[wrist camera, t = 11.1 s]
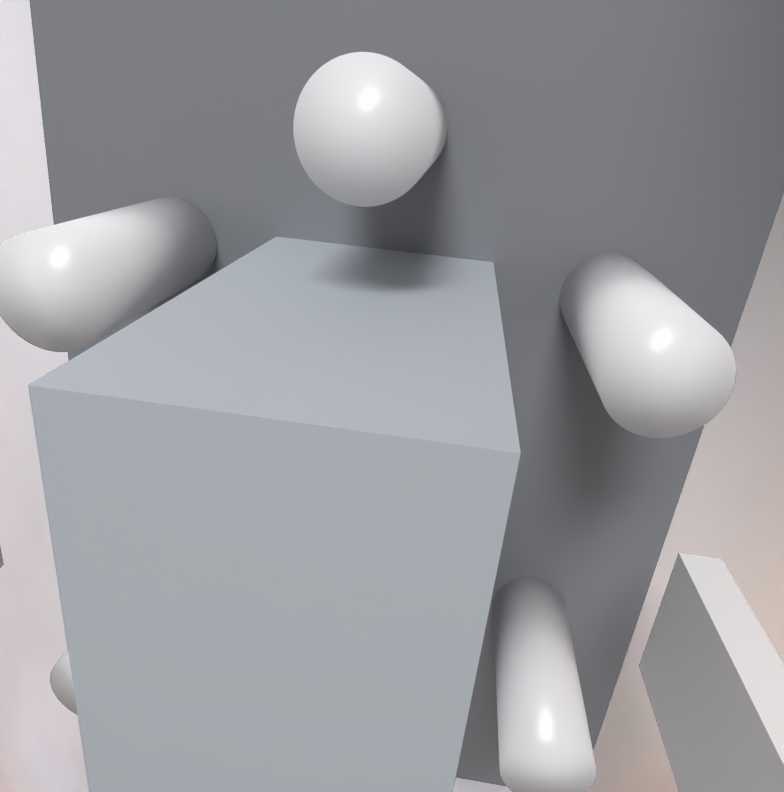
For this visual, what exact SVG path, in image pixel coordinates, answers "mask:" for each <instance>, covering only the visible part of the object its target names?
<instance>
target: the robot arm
mask: <svg viewBox="0 0 784 792" xmlns="http://www.w3.org/2000/svg"><path fill="white" fill-rule="evenodd" d="M3 565H4V564H3V558H2V553H1V547H0V568H1V567H2V566H3ZM639 668H640V671H641V674H642V677H643V680H644V683H645V686H646V690H647V693H648V696H649V699H650V702H651V705H652V708H653V712H654V715H655V718H656V721H657V724H658V727H659V730H660V733H661V737H662V740H663V743H664V746H665V749H666V752H667V755H668V759H669V762H670V765H671V768H672V771H673V774H674V777H675V781H676V784H677V787H678V790H679V792H784V664H783V662H782V661H781V659H780V657H779V656H778V654H777V652H776V650H775V649H774V647H773V645H772V644H771V642H770V640H769V639H768V637H767V635H766V633H765V632H764V630H763V628H762V627H761V625H760V623H759V621H758V620H757V618H756V616H755V615H754V613H753V611H752V610H751V608H750V606H749V604H748V603H747V601H746V599H745V598H744V596H743V594H742V592H741V591H740V589H739V587H738V586H737V584H736V582H735V580H734V579H733V577H732V575H731V574H730V572H729V570H728V569H727V567H726V565H725V563H724V562H723V560H722V559H718V558H712V557H705V556H698V555H691V554H685V553H678V556H677V559H676V562H675V565H674V568H673V570H672V573H671V576H670V579H669V582H668V584H667V587H666V590H665V593H664V596H663V599H662V601H661V604H660V607H659V610H658V613H657V616H656V618H655V621H654V624H653V627H652V630H651V633H650V635H649V638H648V641H647V644H646V647H645V650H644V652H643V655H642V658H641V661H640V664H639Z"/></svg>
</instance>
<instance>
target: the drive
mask: <svg viewBox="0 0 784 792" xmlns="http://www.w3.org/2000/svg"><path fill="white" fill-rule="evenodd" d="M28 387H29V394H30V400H31V407H32V414H33V420H34V427H35V434H36V440H37V447H38V454H39V460H40V467H41V474H42V480H43V487H44V494H45V500H46V507H47V514H48V520H49V527H50V534H51V540H52V547H53V554H54V560H55V567H56V574H57V581H58V587H59V594H60V601H61V607H62V614H63V621H64V627H65V634H66V641H67V647H68V654H69V661H70V667H71V674H72V681H73V687H74V694H75V701H76V707H77V714H78V721H79V727H80V734H81V741H82V747H83V754H84V761H85V767H86V774H87V781H88V787H89V792H453V787H454V782H455V777H456V772H457V767H458V763H459V758H460V753H461V748H462V743H463V738H464V733H465V728H466V723H467V718H468V713H469V708H470V703H471V698H472V693H473V688H474V683H475V678H476V673H477V668H478V663H479V658H480V653H481V648H482V643H483V638H484V633H485V628H486V623H487V618H488V613H489V608H490V603H491V598H492V593H493V588H494V583H495V578H496V573H497V569H498V564H499V559H500V554H501V549H502V544H503V539H504V534H505V529H506V524H507V519H508V514H509V509H510V504H511V499H512V494H513V489H514V484H515V479H516V474H517V469H518V464H519V459H520V454H521V452H520V445H519V438H518V431H517V424H516V417H515V410H514V403H513V396H512V389H511V382H510V375H509V368H508V361H507V354H506V347H505V340H504V333H503V326H502V319H501V312H500V305H499V298H498V291H497V284H496V277H495V270H494V263H493V262H487V261H479V260H470V259H462V258H453V257H445V256H437V255H428V254H420V253H411V252H403V251H394V250H386V249H377V248H369V247H360V246H352V245H343V244H335V243H326V242H318V241H310V240H301V239H293V238H284V237H275V238H273V239H271V240H270V241H268V242H266V243H265V244H263V245H261V246H260V247H258V248H256V249H255V250H253V251H251V252H250V253H248V254H246V255H245V256H243V257H241V258H240V259H238V260H236V261H235V262H233V263H231V264H230V265H228V266H226V267H225V268H223V269H221V270H220V271H218V272H216V273H215V274H213V275H211V276H210V277H208V278H206V279H205V280H203V281H201V282H200V283H198V284H196V285H195V286H193V287H191V288H189V289H188V290H186V291H184V292H183V293H181V294H179V295H178V296H176V297H174V298H173V299H171V300H169V301H168V302H166V303H164V304H163V305H161V306H159V307H158V308H156V309H154V310H153V311H151V312H149V313H148V314H146V315H144V316H143V317H141V318H139V319H138V320H136V321H134V322H133V323H131V324H129V325H128V326H126V327H124V328H123V329H121V330H119V331H118V332H116V333H114V334H113V335H111V336H109V337H108V338H106V339H104V340H103V341H101V342H99V343H98V344H96V345H94V346H93V347H91V348H89V349H88V350H86V351H84V352H83V353H81V354H79V355H78V356H76V357H74V358H73V359H71V360H69V361H68V362H66V363H64V364H63V365H61V366H59V367H58V368H56V369H54V370H53V371H51V372H49V373H48V374H46V375H44V376H43V377H41V378H39V379H38V380H36V381H34V382H33V383H31V384H29V385H28Z"/></svg>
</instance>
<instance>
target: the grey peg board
mask: <svg viewBox="0 0 784 792" xmlns="http://www.w3.org/2000/svg"><path fill="white" fill-rule="evenodd" d="M30 9H31V18H32V27H33V36H34V45H35V55H36V64H37V73H38V82H39V91H40V101H41V110H42V119H43V128H44V137H45V147H46V156H47V165H48V174H49V183H50V193H51V202H52V211H53V220H54V225H51V226H48V227H44V228H40V229H36V230H32V231H28V232H24V233H20V234H16V235H14V236H12V237H10V238H8V239H6V240H5V241H4V242H3V243H1V244H0V316H1V317H2V319H3V320H4V321H5V323H6V324H7V325H8V326H9V327H10V328H11V329H12V330H13V331H14V332H15V333H16V334H17V335H18V336H20V337H21V338H22V339H24V340H25V341H27V342H29V343H30V344H32V345H34V346H37V347H39V348H42V349H45V350H49V351H54V352H68V358H69V360H71V359H73V358H74V357H76V356H78V355H79V354H81V353H83V352H84V351H86V350H88V349H89V348H91V347H93V346H94V345H96V344H98V343H99V342H101V341H103V340H104V339H106V338H108V337H109V336H111V335H113V334H114V333H116V332H118V331H119V330H121V329H123V328H124V327H126V326H128V325H129V324H131V323H133V322H134V321H136V320H138V319H139V318H141V317H143V316H144V315H146V314H148V313H149V312H151V311H153V310H154V309H156V308H158V307H159V306H161V305H163V304H164V303H166V302H168V301H169V300H171V299H173V298H174V297H176V296H178V295H179V294H181V293H183V292H184V291H186V290H188V289H189V288H191V287H193V286H195V285H196V284H198V283H200V282H201V281H203V280H205V279H206V278H208V277H210V276H211V275H213V274H215V273H216V272H218V271H220V270H221V269H223V268H225V267H226V266H228V265H230V264H231V263H233V262H235V261H236V260H238V259H240V258H241V257H243V256H245V255H246V254H248V253H250V252H251V251H253V250H255V249H256V248H258V247H260V246H261V245H263V244H265V243H266V242H268V241H270V240H271V239H273V238H275V237H284V238H293V239H301V240H310V241H318V242H326V243H335V244H343V245H352V246H360V247H369V248H377V249H386V250H394V251H403V252H411V253H420V254H428V255H437V256H445V257H453V258H462V259H470V260H479V261H487V262H493V263H494V270H495V277H496V284H497V291H498V298H499V305H500V312H501V319H502V326H503V333H504V340H505V347H506V354H507V361H508V368H509V375H510V382H511V389H512V396H513V403H514V410H515V417H516V424H517V431H518V438H519V445H520V452H521V454H520V459H519V464H518V469H517V474H516V479H515V484H514V489H513V494H512V499H511V504H510V509H509V514H508V519H507V524H506V529H505V534H504V539H503V544H502V549H501V554H500V559H499V564H498V569H497V573H496V578H495V583H494V588H493V593H492V598H491V603H490V608H489V613H488V618H487V623H486V628H485V633H484V638H483V643H482V648H481V653H480V658H479V663H478V668H477V673H476V678H475V683H474V688H473V693H472V698H471V703H470V708H469V713H468V718H467V723H466V728H465V733H464V738H463V743H462V748H461V753H460V758H459V763H458V767H457V772H456V777H458V778H464V779H469V780H475V781H480V782H486V783H491V784H497V785H502V786H507V787H508V788H509V789H510V790H512V791H513V792H587V791H588V790H589V789H590V788H591V787H592V785H593V784H594V782H595V779H596V772H597V771H596V765H595V760H594V754H593V749H594V746H595V744H596V741H597V738H598V735H599V732H600V729H601V726H602V723H603V720H604V717H605V714H606V711H607V708H608V705H609V702H610V700H611V697H612V694H613V691H614V688H615V685H616V682H617V679H618V676H619V673H620V670H621V667H622V664H623V661H624V658H625V656H626V653H627V650H628V647H629V644H630V641H631V638H632V635H633V632H634V629H635V626H636V623H637V620H638V617H639V615H640V612H641V609H642V606H643V603H644V600H645V597H646V594H647V591H648V588H649V585H650V582H651V579H652V576H653V573H654V571H655V568H656V565H657V562H658V559H659V556H660V553H661V550H662V547H663V544H664V541H665V538H666V535H667V532H668V529H669V527H670V524H671V521H672V518H673V515H674V512H675V509H676V506H677V503H678V500H679V497H680V494H681V491H682V488H683V485H684V483H685V480H686V477H687V474H688V471H689V468H690V465H691V462H692V459H693V456H694V453H695V450H696V447H697V444H698V441H699V439H700V436H701V433H702V430H703V427H704V424H706V423H708V422H709V421H710V420H711V419H712V418H714V417H715V416H716V415H717V414H718V413H719V412H720V411H721V409H722V408H723V407H724V405H725V404H726V402H727V401H728V399H729V397H730V395H731V393H732V391H733V388H734V384H735V379H736V363H735V357H734V355H733V352H732V349H731V345H732V342H733V339H734V336H735V333H736V330H737V327H738V324H739V321H740V318H741V315H742V312H743V310H744V307H745V304H746V301H747V298H748V295H749V292H750V289H751V286H752V283H753V280H754V277H755V274H756V271H757V268H758V266H759V263H760V260H761V257H762V254H763V251H764V248H765V245H766V242H767V239H768V236H769V233H770V230H771V227H772V224H773V222H774V219H775V216H776V213H777V210H778V207H779V204H780V201H781V198H782V195H783V192H784V0H30ZM50 683H51V687H52V690H53V692H54V694H55V695H56V697H57V698H58V700H59V701H60V702H61V703H62V704H63V705H64V706H65V707H66V708H68V709H69V710H70V711H72V712H73V713H75V714H77V707H76V701H75V694H74V687H73V681H72V674H71V667H70V661H69V654H68V649H67V650H66V651H65V653H64V654H63V655H62V657H61V658H60V659H59V661H58V662H57V663H56V665H55V666H54V667H53V669H52V671H51V674H50ZM77 715H78V714H77Z"/></svg>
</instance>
